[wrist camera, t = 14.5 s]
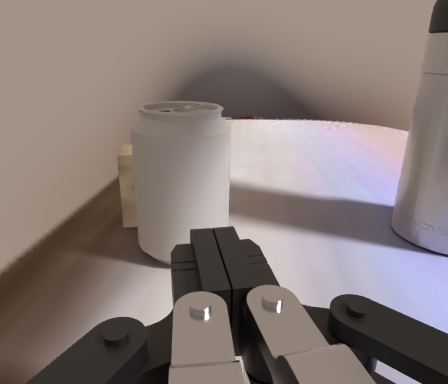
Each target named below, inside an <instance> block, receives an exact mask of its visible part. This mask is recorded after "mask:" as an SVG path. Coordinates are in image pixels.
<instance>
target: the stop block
mask: <svg viewBox="0 0 448 384" xmlns="http://www.w3.org/2000/svg"><path fill="white" fill-rule="evenodd" d="M117 160H118V171H119V182H120V194H121V205H122V217H123V228H130V227H138V225H137V211H136V197H135V183H134V169H133V155H132V144H130V145H129V144H128V145H120V148H119V151H118V154H117Z"/></svg>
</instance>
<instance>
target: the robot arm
mask: <svg viewBox="0 0 448 384" xmlns="http://www.w3.org/2000/svg"><path fill="white" fill-rule="evenodd" d="M429 33H430V34H428V38H427V43H426V48H425V53H424V58H423V63H422V68H421V74H420V79H419V84H418V89H417V94H416V99H415V104H414V109H413V115H412V119H411V124H410V129H409V134H408V139H407V144H406V149H405V155H404V160H403V165H402V170H401V175H400V180H399V184H398V189H397V194H396V199H395V204H394V209H393V214H392V219H391V226H392V228H393V229H394V231H395V232H396V233H397V234H399V235H400V236H401V237H403V238H404V239H406V240H408V241H409V242H412V243H414V244H416V245H418V246H420V247H423V248H426V249H429V250H432V251H435V252H439V253H442V254H447V255H448V0H437V2H436V3H435V6H434V9H433V12H432V17H431V22H430V27H429ZM171 276H172V295H173V309H172V311H171V312H170V314H169V315H168V316H167V317H165V318H164V319H163V320H161V321H159V322H157V323H154V324H152V325H149V326H146V327H145V326H144V325H143V323H141V322H140V321H138V320H137V319H134V318H130V317H117V318H112V319H108V320H106V321H103V322H102V323H100V324H98V325H97V326H95V327H94V328H93V329H92V330H90V331H89V332H88V333H87V334H85V335H84V336H83V337H82V338H81V339H79V340H78V341H77V342H76V343H75V344H73V345H72V346H71V347H70V348H68V349H67V350H66V351H65V352H64V353H62V354H61V355H60V356H59V357H57V358H56V359H55V360H54V361H53V362H51V363H50V364H49V365H48V366H46V367H45V368H44V369H43V370H42V371H40V372H39V373H38V374H37V375H36V376H34V377H33V378H32V379H31V380H29V381H28V382H27V383H26V384H244V383H245V384H395V383H394V382H392V381H390V380H388V379H387V378H385V377H383V376H381V375H379V374H378V373H376V372H375V368H376V364H377V360H379V361H381V362H383V363H384V364H386V365H388V366H390V367H392V368H394V369H396V370H397V371H399V372H401V373H403V374H405V375H407V376H409V377H410V378H412V379H414V380H416V381H418V382H420V383H422V384H448V334H447V333H445V332H443V331H440V330H438V329H436V328H434V327H431V326H429V325H427V324H425V323H422V322H420V321H418V320H415V319H413V318H411V317H409V316H406V315H404V314H402V313H400V312H397V311H395V310H393V309H391V308H388V307H386V306H384V305H382V304H379V303H377V302H375V301H373V300H370V299H368V298H365V297H363V296H359V295H353V294H345V295H340V296H337V297H335V298H334V299H333V300H332V301H331V304H330V309H327V308H319V307H311V306H306V305H302V304H301V303H300V302H299V300H298V299H297V297H296V296H295V295H294V294H293V293H292V292H291V291H289V290H288V289H286V288H283V287H280V285H279V283H278V281H277V279H276V278H275V276H274V274H273V272H272V270H271V268H270V266H269V264H267V260H266V258H265V257H264V255H263V253H262V251H261V249H260V247H259V246H258V245H257V244H255V243H254V242H253V241H251V240H250V239H244V240H239V237H238V235H237V233H236V231H235V228H234V227H233V226H231V227H216V228H202V229H190V244H176V245H175V247H174V249H173V250H172V252H171ZM235 356H242V360H243V374H242V368H241V364H240V361H239V360H237V361H236V359H235Z"/></svg>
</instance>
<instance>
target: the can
mask: <svg viewBox="0 0 448 384" xmlns="http://www.w3.org/2000/svg"><path fill="white" fill-rule="evenodd" d="M138 110H139V111H140V112H141V115H140V116H139V118H138V119H137V120H136V121H135V123H134V124H133V125H132V126H131V139H132V140H131V141H132V155H133V169H134V183H135V197H136V211H137V225H138V239H139V245H140V247H141V248H142V250H143V251H144V252H146V253H148V254H149V255H151V256H152V257H153V258H155V259H156V260H158V261H159V262H163V263H166V264H169V265H171V252H172V250H173V249H174V247H175V245H176V244H190V229H202V228H216V227H228V223H229V185H230V146H231V127H230V126H229V125H228V123H227V122H226V121H225V120H224V119H223V118H222V116H221V111H222V110H223V108H222V107H221V106H220V105H217V104H213V103H206V102H192V101H166V102H154V103H147V104H143V105H141V106H139V108H138Z"/></svg>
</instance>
